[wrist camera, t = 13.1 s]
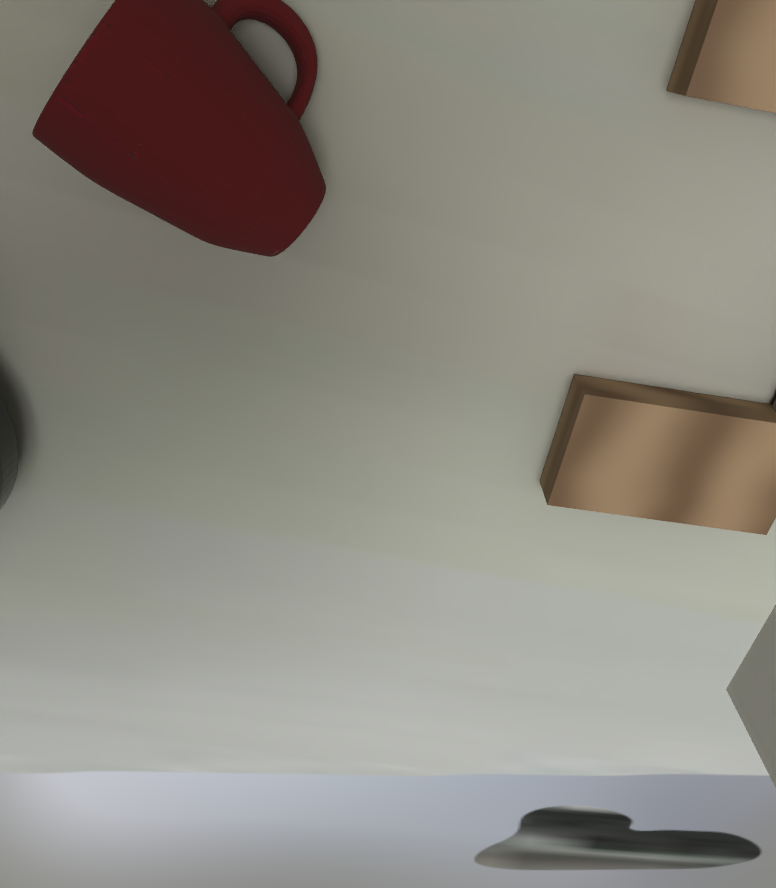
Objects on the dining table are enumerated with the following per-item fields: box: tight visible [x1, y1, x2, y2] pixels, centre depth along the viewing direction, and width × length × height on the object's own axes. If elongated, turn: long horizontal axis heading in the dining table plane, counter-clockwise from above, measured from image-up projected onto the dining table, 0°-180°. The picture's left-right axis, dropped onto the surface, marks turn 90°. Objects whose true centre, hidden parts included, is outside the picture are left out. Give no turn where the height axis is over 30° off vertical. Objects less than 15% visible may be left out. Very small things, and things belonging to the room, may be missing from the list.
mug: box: [33, 0, 326, 257], centre depth 30 cm, size 11×8×10 cm
